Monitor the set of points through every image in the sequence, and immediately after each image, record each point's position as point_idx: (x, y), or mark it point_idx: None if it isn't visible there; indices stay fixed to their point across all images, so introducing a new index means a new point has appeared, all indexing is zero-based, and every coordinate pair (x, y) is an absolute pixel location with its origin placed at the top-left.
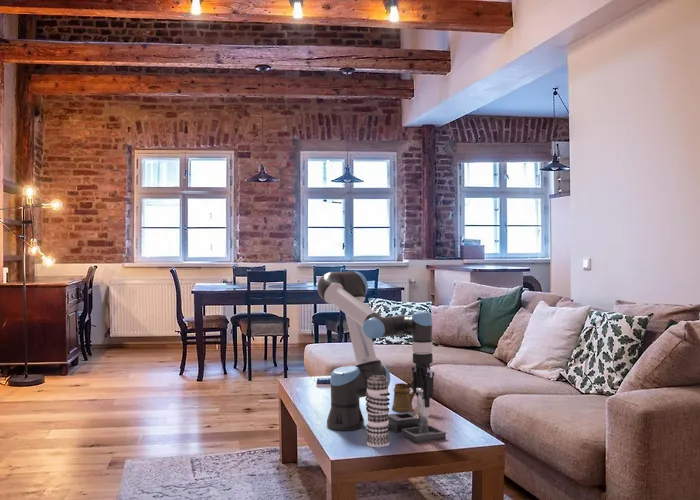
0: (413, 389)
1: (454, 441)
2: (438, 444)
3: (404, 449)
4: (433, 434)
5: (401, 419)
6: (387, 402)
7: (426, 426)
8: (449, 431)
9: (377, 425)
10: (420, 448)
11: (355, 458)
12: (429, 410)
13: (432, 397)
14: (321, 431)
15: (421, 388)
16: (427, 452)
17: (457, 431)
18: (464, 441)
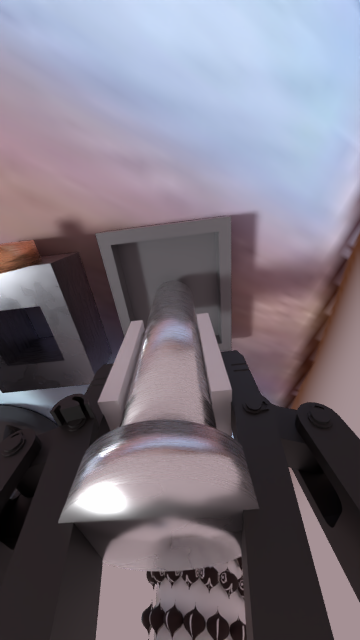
0: (19, 506)
1: (269, 191)
2: (270, 273)
3: (261, 377)
4: (230, 280)
5: (81, 364)
6: None
7: (193, 303)
8: (117, 134)
9: None
10: (276, 340)
11: None
12: (212, 327)
13: (318, 404)
14: None
15: (169, 547)
16: (319, 335)
17: (125, 80)
18: (292, 139)
